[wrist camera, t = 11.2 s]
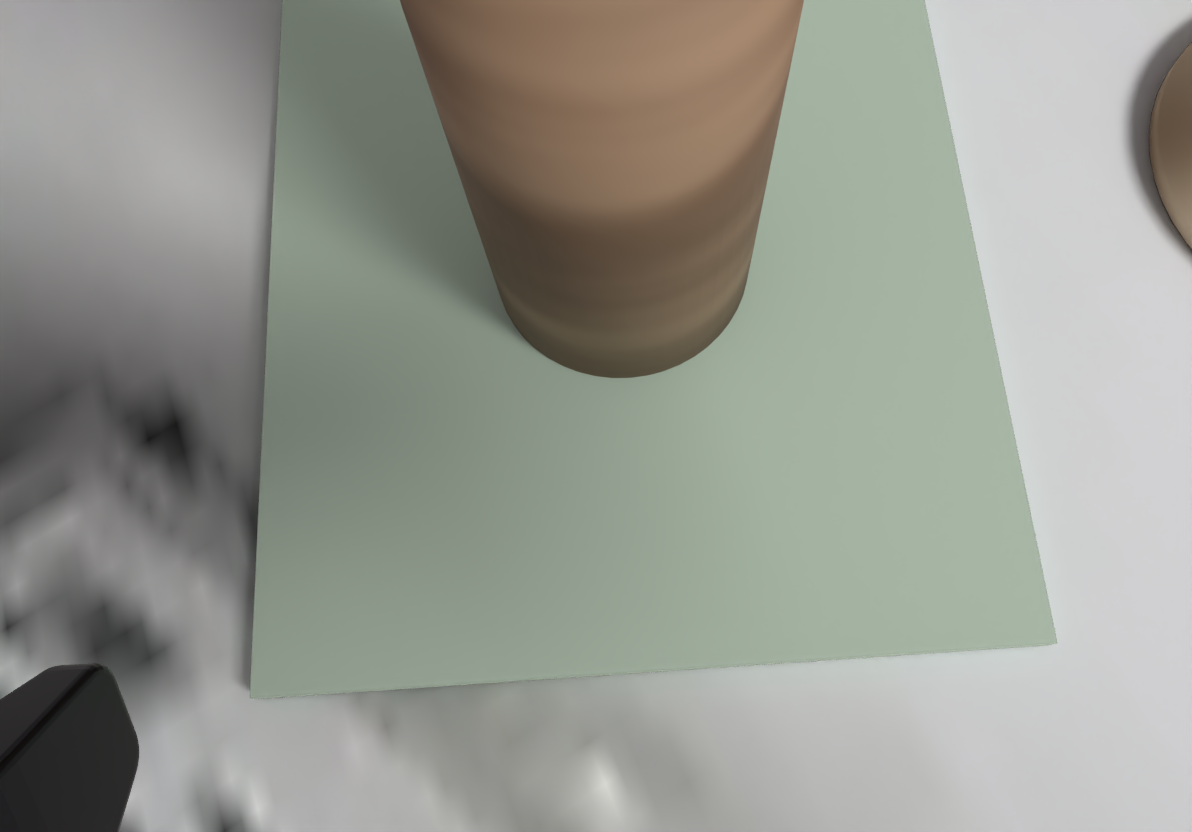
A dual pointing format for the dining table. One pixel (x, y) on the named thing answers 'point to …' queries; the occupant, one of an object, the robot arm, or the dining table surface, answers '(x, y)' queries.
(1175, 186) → the coaster
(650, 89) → the canister
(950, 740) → the dining table surface
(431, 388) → the mat
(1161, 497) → the dining table surface
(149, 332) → the dining table surface
